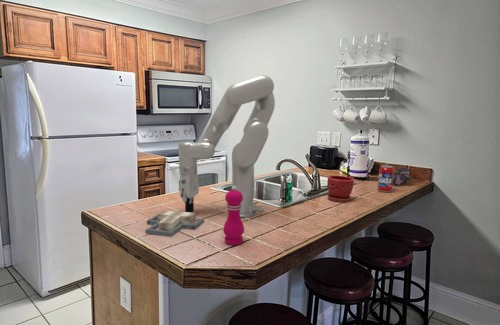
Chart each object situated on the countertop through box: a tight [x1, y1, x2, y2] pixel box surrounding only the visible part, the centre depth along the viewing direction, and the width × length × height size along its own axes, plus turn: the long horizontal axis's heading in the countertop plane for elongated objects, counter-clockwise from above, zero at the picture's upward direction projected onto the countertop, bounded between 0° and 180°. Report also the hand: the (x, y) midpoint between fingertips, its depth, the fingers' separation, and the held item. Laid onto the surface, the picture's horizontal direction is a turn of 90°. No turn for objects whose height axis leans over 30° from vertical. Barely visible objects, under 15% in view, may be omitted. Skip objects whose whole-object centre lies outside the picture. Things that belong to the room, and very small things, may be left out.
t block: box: [157, 210, 197, 231], centre depth 128 cm, size 14×14×4 cm
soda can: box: [377, 164, 395, 193], centre depth 192 cm, size 8×8×15 cm
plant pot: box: [326, 175, 355, 203], centre depth 172 cm, size 13×13×12 cm
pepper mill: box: [222, 186, 245, 246], centre depth 113 cm, size 7×7×20 cm
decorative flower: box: [393, 167, 412, 187], centre depth 213 cm, size 14×12×15 cm
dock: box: [145, 214, 205, 238], centre depth 128 cm, size 20×18×2 cm
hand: (189, 211), depth 143 cm, fingers closed
